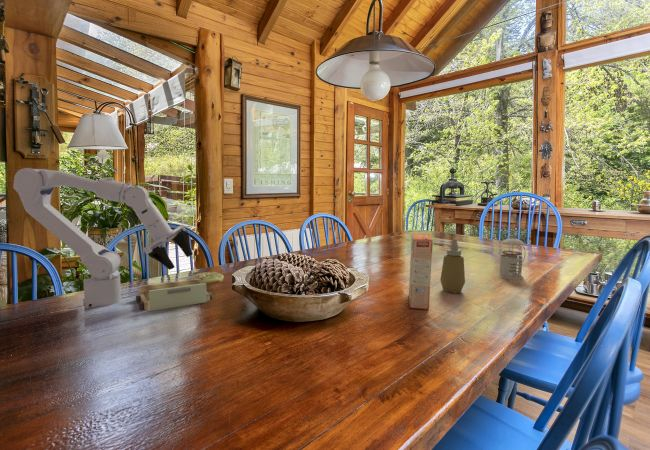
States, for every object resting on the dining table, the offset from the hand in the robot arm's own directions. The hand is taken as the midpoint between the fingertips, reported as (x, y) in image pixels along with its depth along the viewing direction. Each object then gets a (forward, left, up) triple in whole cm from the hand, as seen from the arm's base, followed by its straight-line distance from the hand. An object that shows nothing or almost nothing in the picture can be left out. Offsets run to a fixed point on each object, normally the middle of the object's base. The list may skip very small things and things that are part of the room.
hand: (181, 261), depth 115 cm
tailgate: (-2, -7, -11) cm, 13 cm away
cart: (-2, -1, -12) cm, 13 cm away
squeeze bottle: (+82, -33, -13) cm, 89 cm away
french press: (+120, -31, -13) cm, 124 cm away
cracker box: (+62, -36, -13) cm, 73 cm away
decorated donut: (+13, +17, -13) cm, 25 cm away
